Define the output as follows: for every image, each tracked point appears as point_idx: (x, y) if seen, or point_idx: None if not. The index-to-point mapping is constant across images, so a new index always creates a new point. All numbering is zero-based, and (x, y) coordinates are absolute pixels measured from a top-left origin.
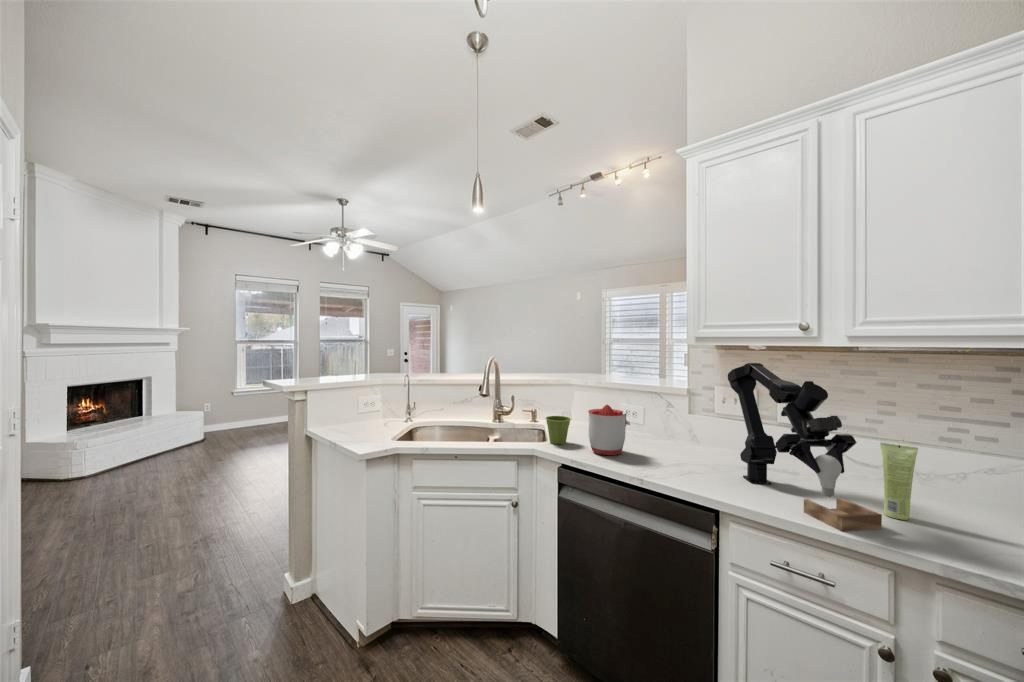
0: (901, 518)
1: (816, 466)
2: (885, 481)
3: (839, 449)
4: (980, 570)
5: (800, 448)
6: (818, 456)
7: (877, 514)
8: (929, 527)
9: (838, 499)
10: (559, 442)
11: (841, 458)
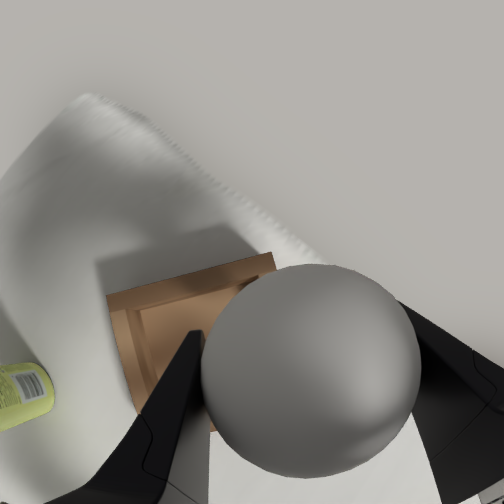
0: (35, 364)
1: (419, 314)
2: None
3: (115, 502)
4: (93, 115)
5: None
6: (407, 405)
7: (119, 294)
8: (10, 320)
9: None
10: None
11: (150, 417)
